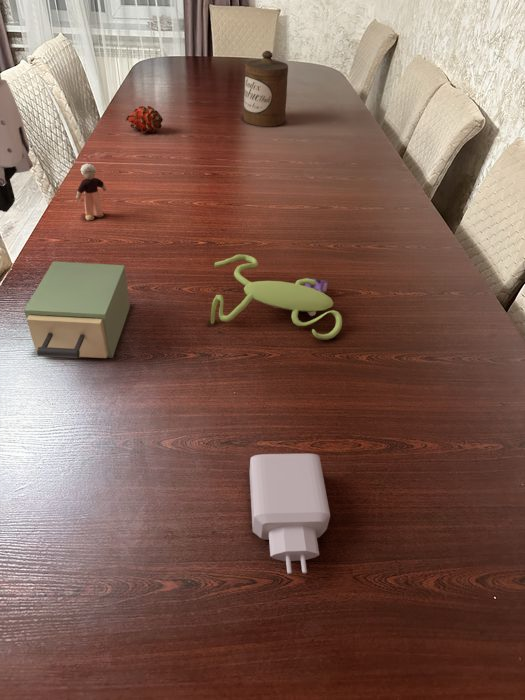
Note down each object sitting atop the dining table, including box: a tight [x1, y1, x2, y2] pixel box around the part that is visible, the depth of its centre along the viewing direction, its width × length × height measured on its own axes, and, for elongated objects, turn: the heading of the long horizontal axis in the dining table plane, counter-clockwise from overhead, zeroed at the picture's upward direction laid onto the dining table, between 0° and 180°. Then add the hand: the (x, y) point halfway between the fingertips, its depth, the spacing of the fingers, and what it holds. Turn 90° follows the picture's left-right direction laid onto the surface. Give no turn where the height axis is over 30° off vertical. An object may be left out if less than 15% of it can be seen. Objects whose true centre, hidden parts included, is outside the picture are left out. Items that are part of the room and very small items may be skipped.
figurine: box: [210, 253, 343, 341], centre depth 100 cm, size 18×27×6 cm
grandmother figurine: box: [75, 162, 107, 221], centre depth 121 cm, size 8×4×13 cm, turn 147°
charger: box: [249, 453, 331, 575], centre depth 64 cm, size 5×9×15 cm
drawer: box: [26, 315, 108, 359], centre depth 87 cm, size 18×11×7 cm, turn 0°
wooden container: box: [243, 50, 289, 127], centre depth 181 cm, size 15×15×22 cm
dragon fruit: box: [125, 105, 164, 134], centre depth 169 cm, size 8×8×12 cm
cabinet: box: [23, 260, 131, 359], centre depth 90 cm, size 15×13×9 cm
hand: (4, 207), depth 77 cm, fingers closed
